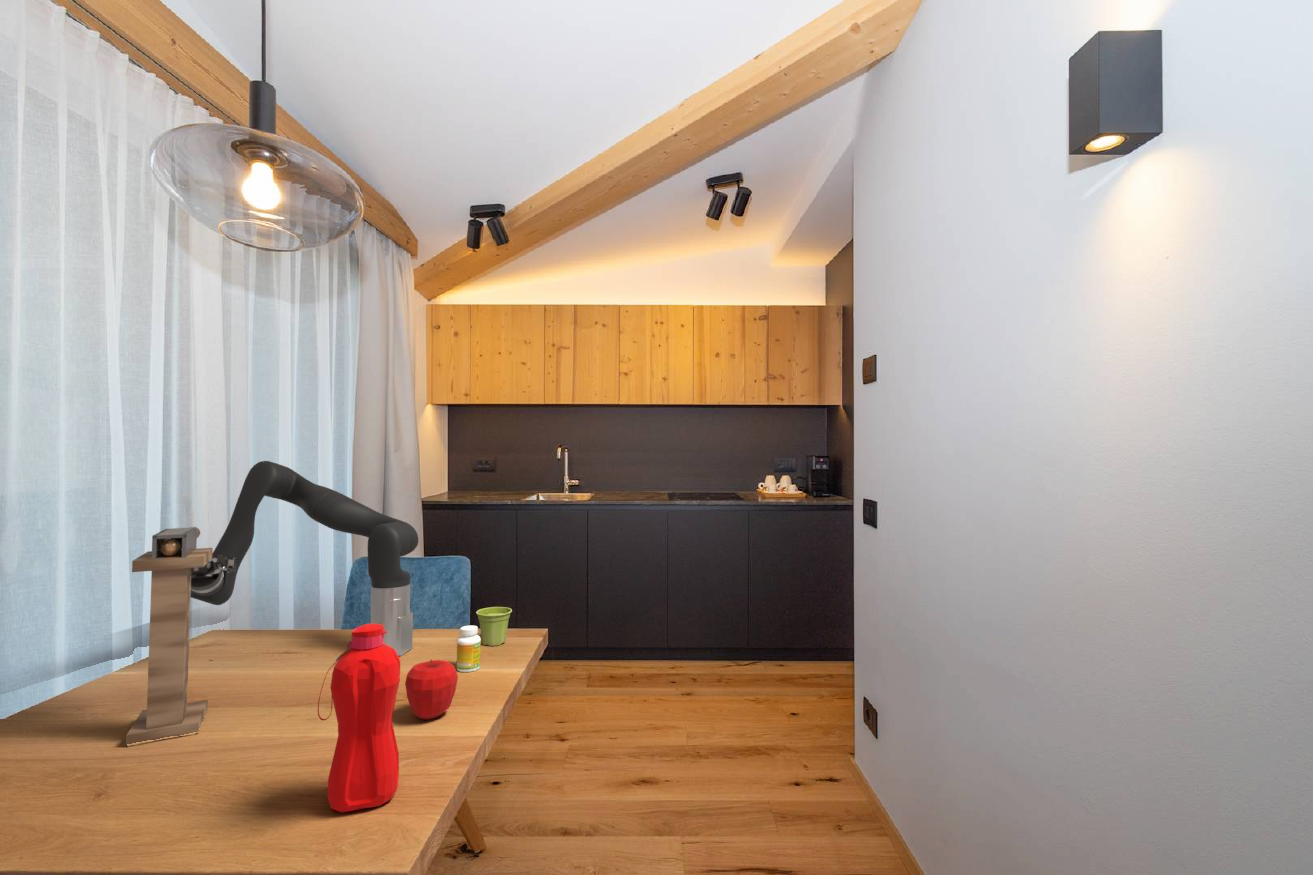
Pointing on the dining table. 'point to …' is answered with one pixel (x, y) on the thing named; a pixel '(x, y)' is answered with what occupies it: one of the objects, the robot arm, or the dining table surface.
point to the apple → (431, 688)
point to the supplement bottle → (468, 649)
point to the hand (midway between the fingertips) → (195, 560)
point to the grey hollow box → (185, 533)
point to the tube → (174, 545)
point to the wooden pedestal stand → (169, 648)
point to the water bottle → (364, 722)
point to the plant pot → (493, 624)
